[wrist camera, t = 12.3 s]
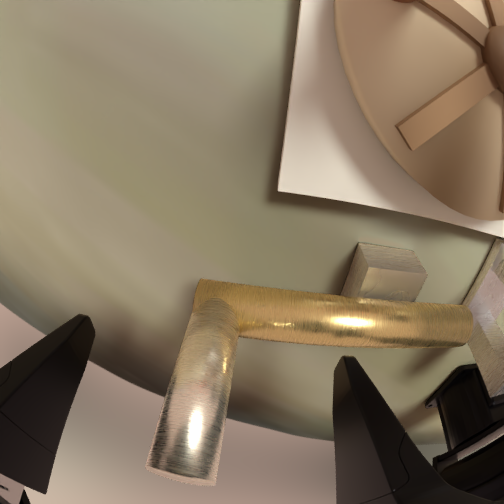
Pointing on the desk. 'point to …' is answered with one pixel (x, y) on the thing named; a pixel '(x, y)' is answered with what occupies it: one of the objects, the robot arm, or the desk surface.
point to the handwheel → (433, 92)
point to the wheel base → (344, 135)
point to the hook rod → (281, 330)
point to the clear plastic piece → (410, 283)
